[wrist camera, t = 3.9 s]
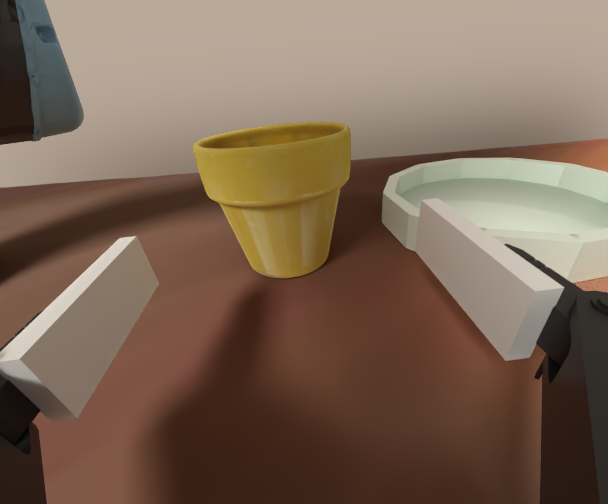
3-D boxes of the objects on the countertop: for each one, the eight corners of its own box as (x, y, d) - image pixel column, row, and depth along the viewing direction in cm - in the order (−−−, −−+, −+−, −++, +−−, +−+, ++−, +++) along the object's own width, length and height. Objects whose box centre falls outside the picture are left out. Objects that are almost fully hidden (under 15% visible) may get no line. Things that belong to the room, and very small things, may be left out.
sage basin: (368, 261, 22) (369, 226, 20) (395, 182, 36) (396, 159, 35) (730, 304, 15) (774, 256, 13) (581, 185, 29) (594, 156, 28)
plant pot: (311, 218, 29) (301, 117, 24) (379, 261, 21) (385, 123, 16) (215, 250, 26) (180, 138, 21) (254, 317, 18) (212, 160, 13)
